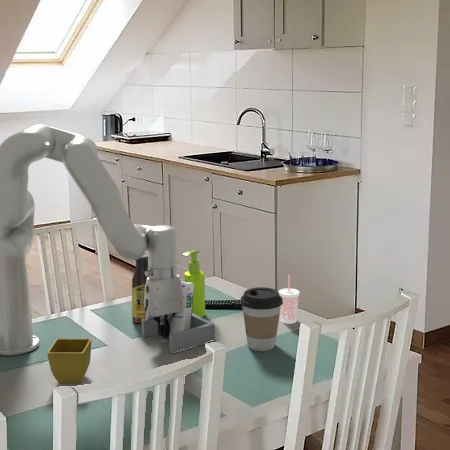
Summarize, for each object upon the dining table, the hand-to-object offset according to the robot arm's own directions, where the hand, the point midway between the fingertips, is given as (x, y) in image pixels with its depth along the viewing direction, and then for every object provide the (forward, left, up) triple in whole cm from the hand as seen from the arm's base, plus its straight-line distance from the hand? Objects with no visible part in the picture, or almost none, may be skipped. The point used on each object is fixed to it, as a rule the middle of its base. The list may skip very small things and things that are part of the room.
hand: (164, 336), depth 198 cm
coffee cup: (+19, -19, -2) cm, 27 cm away
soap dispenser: (+18, +11, -2) cm, 21 cm away
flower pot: (-30, -6, -2) cm, 31 cm away
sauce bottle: (+4, +17, -2) cm, 18 cm away
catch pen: (+4, -1, -2) cm, 5 cm away
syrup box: (+5, 0, -1) cm, 5 cm away
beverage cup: (+37, -10, -2) cm, 38 cm away
